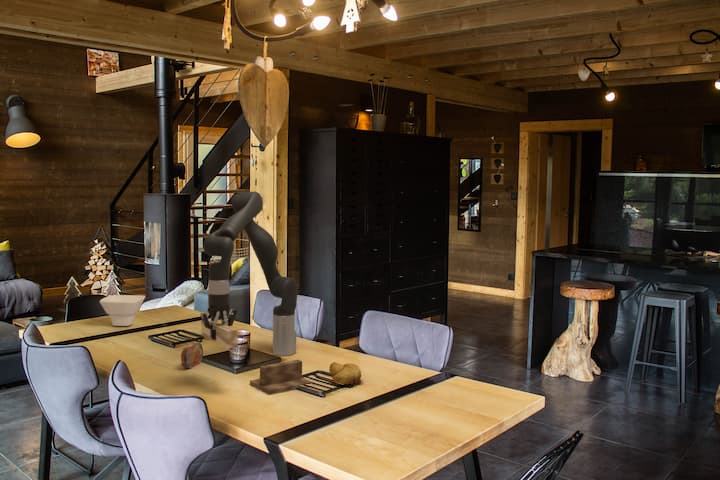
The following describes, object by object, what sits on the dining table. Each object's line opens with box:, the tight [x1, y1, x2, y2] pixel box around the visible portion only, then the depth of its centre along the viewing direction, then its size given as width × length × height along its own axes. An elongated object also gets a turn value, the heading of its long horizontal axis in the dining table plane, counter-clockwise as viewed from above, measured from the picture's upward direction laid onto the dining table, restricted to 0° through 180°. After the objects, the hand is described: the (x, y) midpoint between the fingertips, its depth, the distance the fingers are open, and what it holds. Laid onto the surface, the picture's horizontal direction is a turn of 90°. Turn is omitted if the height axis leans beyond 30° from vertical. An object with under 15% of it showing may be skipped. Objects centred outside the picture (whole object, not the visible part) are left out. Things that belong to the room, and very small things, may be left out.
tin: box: [180, 342, 204, 369], centre depth 264 cm, size 15×3×8 cm, turn 168°
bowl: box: [99, 294, 146, 327], centre depth 332 cm, size 19×19×14 cm
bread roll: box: [328, 361, 362, 385], centre depth 246 cm, size 13×10×8 cm
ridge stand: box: [249, 359, 313, 395], centre depth 241 cm, size 18×14×8 cm
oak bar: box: [200, 318, 239, 349], centre depth 240 cm, size 4×22×6 cm, turn 38°
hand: (219, 338), depth 240 cm, fingers closed on oak bar, 3 cm apart
